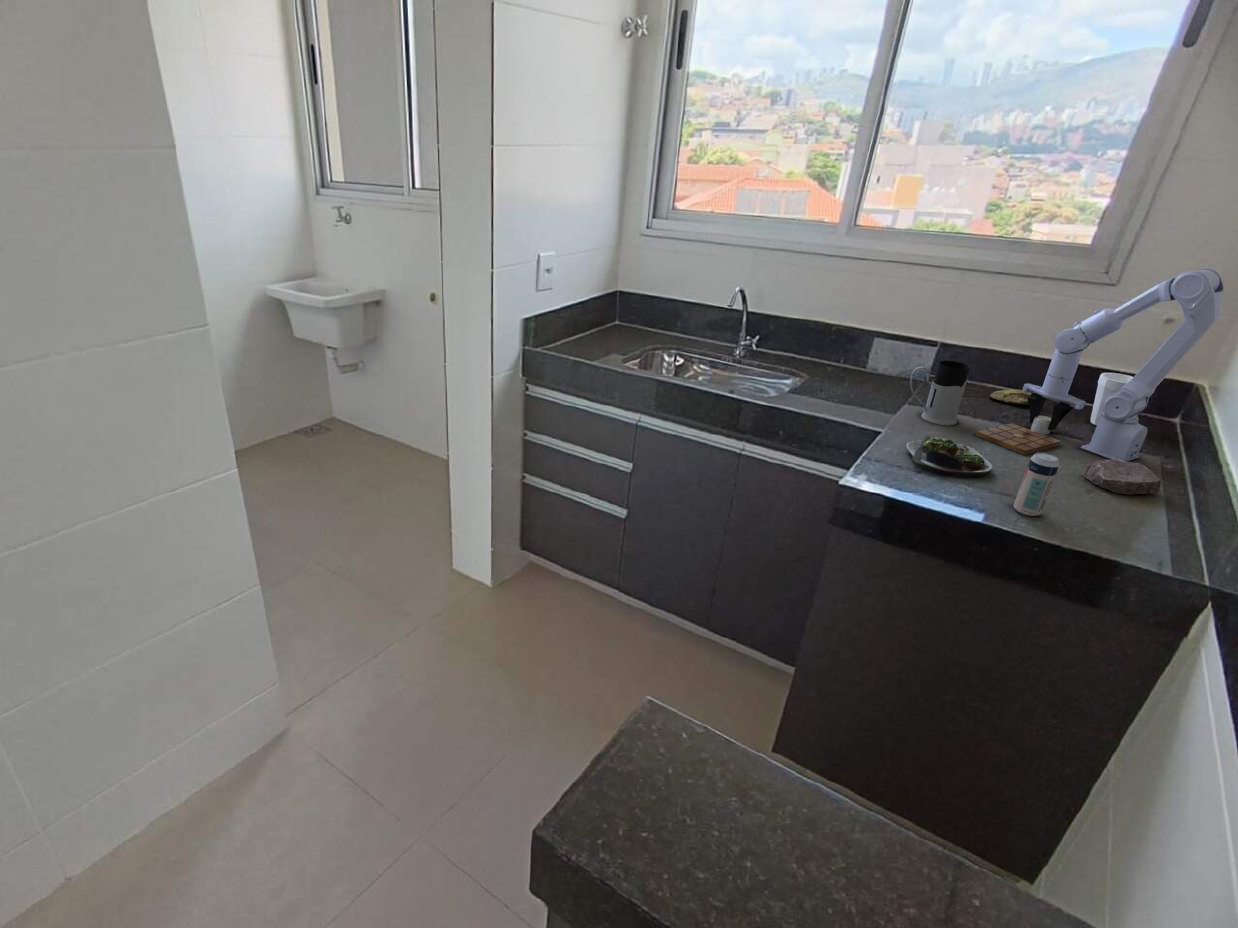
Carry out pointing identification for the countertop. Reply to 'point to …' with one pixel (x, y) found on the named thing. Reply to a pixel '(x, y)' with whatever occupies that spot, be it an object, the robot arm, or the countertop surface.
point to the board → (1018, 438)
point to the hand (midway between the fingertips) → (1042, 426)
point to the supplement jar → (1036, 484)
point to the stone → (1123, 477)
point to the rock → (1011, 396)
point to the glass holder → (944, 392)
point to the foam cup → (1107, 391)
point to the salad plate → (948, 458)
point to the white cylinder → (1041, 425)
